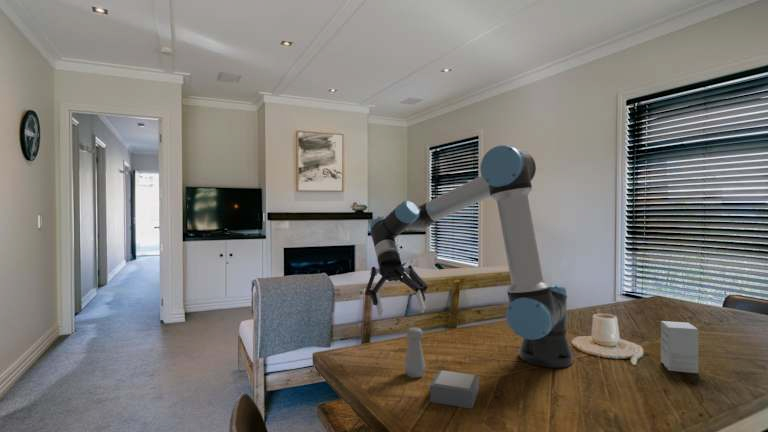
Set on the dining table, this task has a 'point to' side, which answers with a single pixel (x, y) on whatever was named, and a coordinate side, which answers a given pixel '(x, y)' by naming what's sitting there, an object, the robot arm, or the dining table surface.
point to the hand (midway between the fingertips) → (402, 312)
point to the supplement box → (679, 346)
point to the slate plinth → (454, 389)
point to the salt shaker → (414, 354)
